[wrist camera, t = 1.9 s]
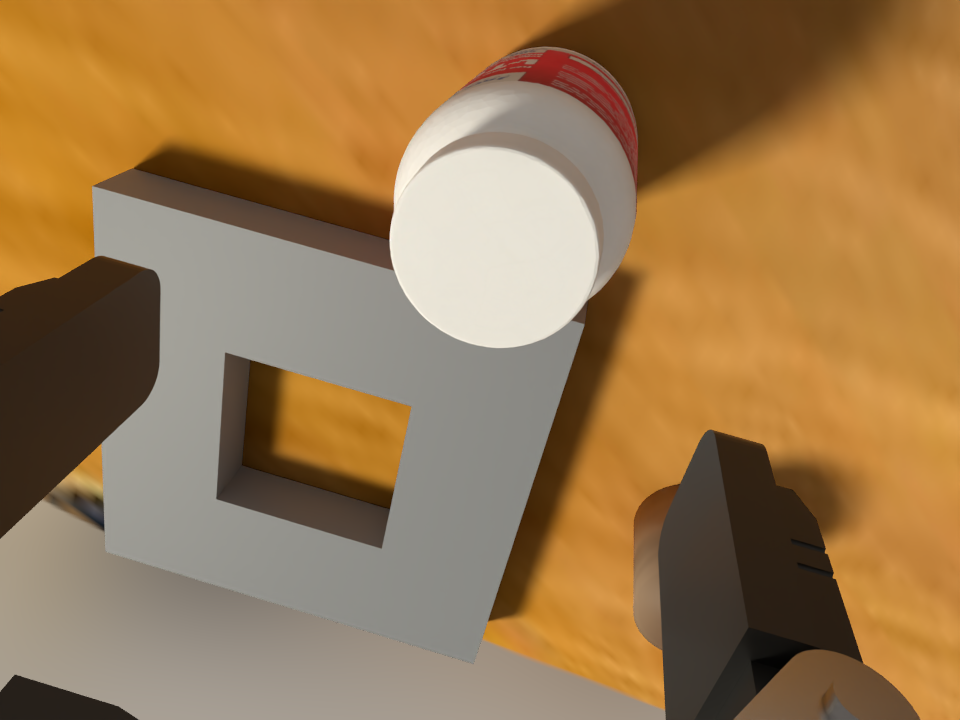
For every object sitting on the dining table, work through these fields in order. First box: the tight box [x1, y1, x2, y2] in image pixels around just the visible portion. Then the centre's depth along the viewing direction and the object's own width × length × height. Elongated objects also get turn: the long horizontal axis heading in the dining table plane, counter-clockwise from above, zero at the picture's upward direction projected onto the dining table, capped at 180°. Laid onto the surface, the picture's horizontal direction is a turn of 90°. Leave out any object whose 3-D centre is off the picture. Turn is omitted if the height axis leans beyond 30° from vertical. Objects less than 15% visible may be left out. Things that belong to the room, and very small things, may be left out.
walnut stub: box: [633, 484, 680, 650], centre depth 31 cm, size 4×4×5 cm
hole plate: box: [92, 168, 588, 664], centre depth 32 cm, size 18×18×2 cm
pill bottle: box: [390, 47, 638, 348], centre depth 21 cm, size 6×6×11 cm
